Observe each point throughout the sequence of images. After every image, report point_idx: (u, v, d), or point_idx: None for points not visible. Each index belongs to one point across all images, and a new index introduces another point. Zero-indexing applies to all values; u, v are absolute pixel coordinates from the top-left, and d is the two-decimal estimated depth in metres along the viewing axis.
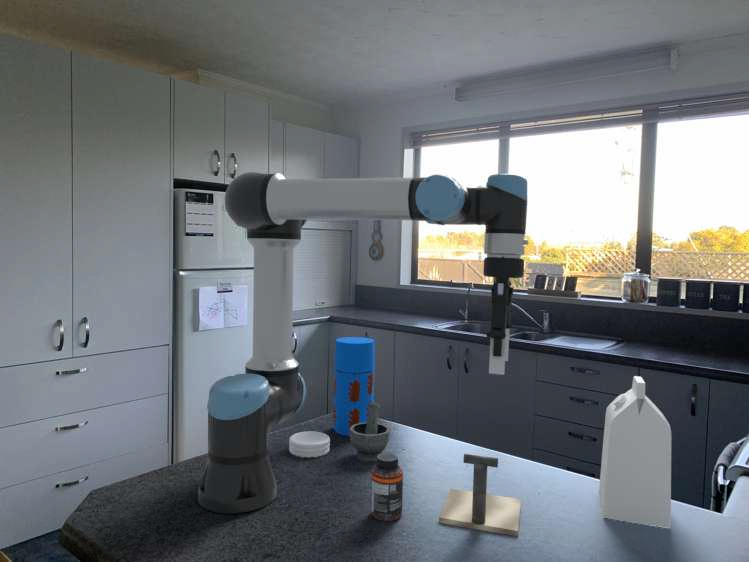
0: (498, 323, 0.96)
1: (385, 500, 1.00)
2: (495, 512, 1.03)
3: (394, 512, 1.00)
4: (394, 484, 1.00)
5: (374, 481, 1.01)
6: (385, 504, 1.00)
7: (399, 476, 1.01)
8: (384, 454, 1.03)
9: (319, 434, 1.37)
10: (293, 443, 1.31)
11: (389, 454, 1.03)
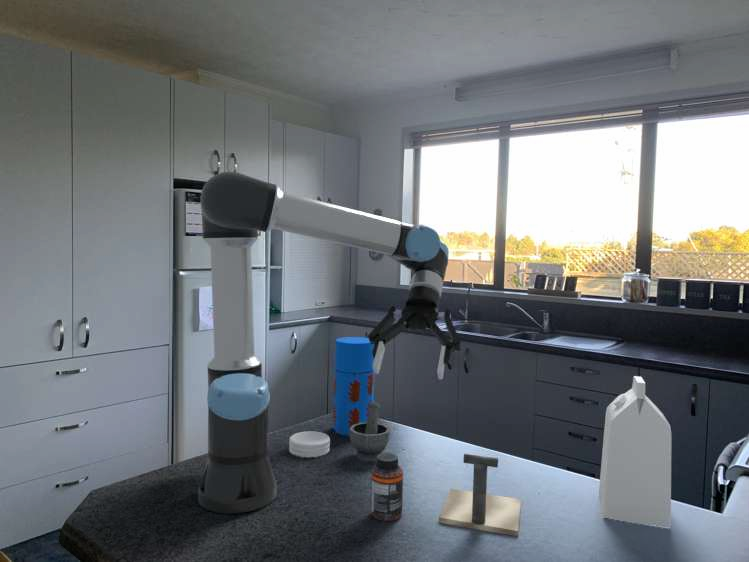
0: None
1: (385, 500, 1.00)
2: (495, 512, 1.03)
3: (394, 512, 1.00)
4: (394, 484, 1.00)
5: (374, 481, 1.01)
6: (385, 504, 1.00)
7: (399, 476, 1.01)
8: (384, 454, 1.03)
9: (319, 434, 1.37)
10: (293, 443, 1.31)
11: (389, 454, 1.03)
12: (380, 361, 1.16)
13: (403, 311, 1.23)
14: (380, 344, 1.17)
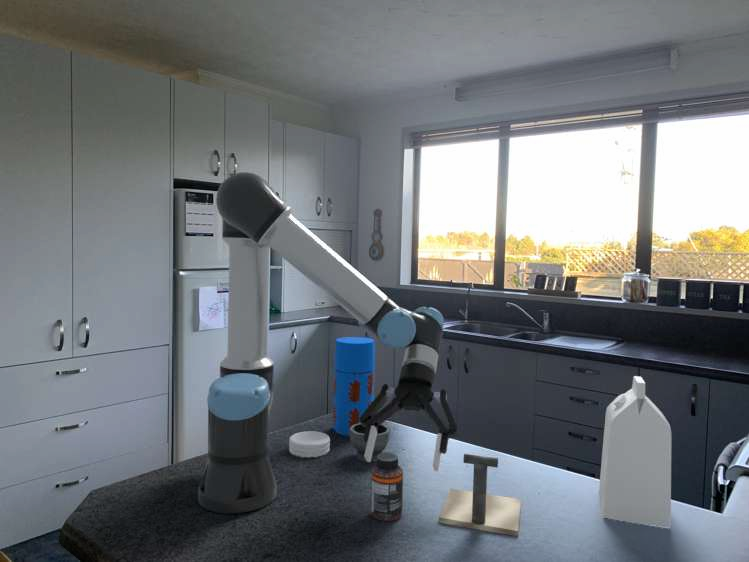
0: None
1: (385, 500, 1.00)
2: (495, 512, 1.03)
3: (394, 512, 1.00)
4: (394, 484, 1.00)
5: (374, 481, 1.01)
6: (385, 504, 1.00)
7: (399, 476, 1.01)
8: (384, 454, 1.03)
9: (319, 434, 1.37)
10: (293, 443, 1.31)
11: (389, 454, 1.03)
12: (372, 447, 1.10)
13: (396, 390, 1.16)
14: (372, 429, 1.11)
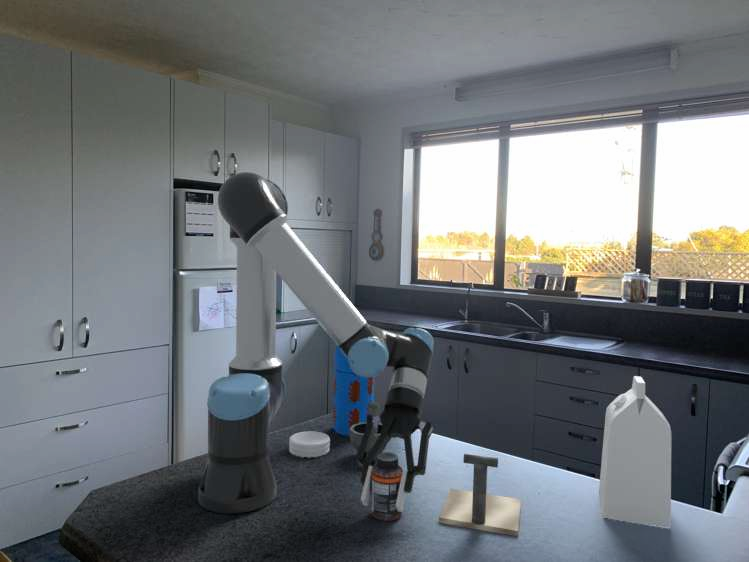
0: (425, 462, 1.04)
1: (386, 500, 1.00)
2: (495, 512, 1.03)
3: (394, 512, 1.00)
4: (394, 484, 1.00)
5: (374, 481, 1.01)
6: (385, 504, 1.00)
7: (399, 476, 1.01)
8: (384, 454, 1.03)
9: (319, 434, 1.37)
10: (293, 443, 1.31)
11: (389, 454, 1.03)
12: (369, 490, 1.02)
13: (382, 417, 1.10)
14: (370, 470, 1.03)
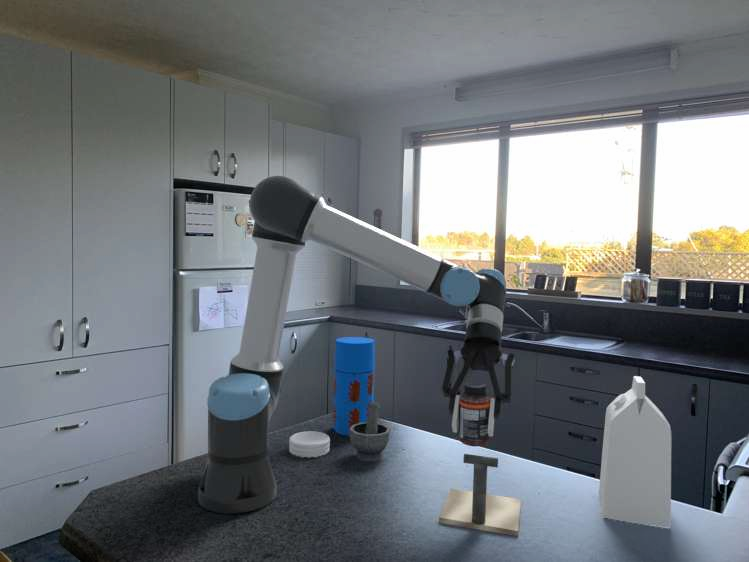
0: (511, 390, 1.06)
1: (476, 425, 1.02)
2: (495, 512, 1.03)
3: (484, 437, 1.02)
4: (484, 409, 1.02)
5: (463, 407, 1.03)
6: (475, 429, 1.02)
7: (488, 402, 1.03)
8: (471, 382, 1.05)
9: (319, 434, 1.37)
10: (293, 443, 1.31)
11: (476, 382, 1.05)
12: (458, 417, 1.04)
13: (463, 351, 1.12)
14: (457, 398, 1.05)
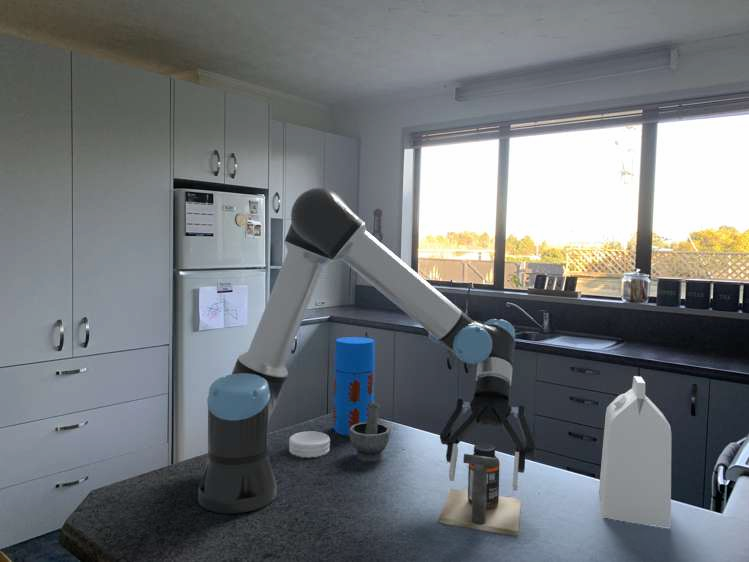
0: None
1: None
2: (495, 512, 1.03)
3: (493, 500, 1.04)
4: (493, 473, 1.04)
5: (472, 470, 1.05)
6: None
7: None
8: (480, 444, 1.07)
9: (319, 434, 1.37)
10: (293, 443, 1.31)
11: (485, 444, 1.07)
12: (455, 466, 1.07)
13: (472, 404, 1.14)
14: (454, 447, 1.08)
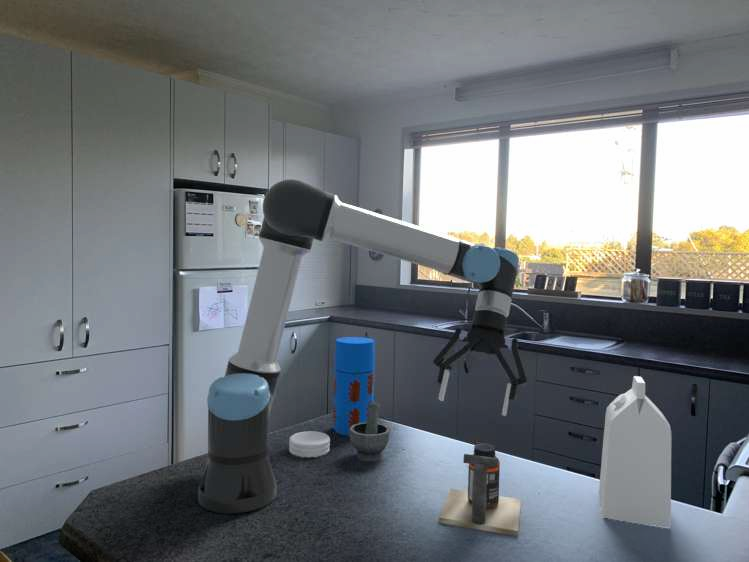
0: None
1: None
2: (495, 512, 1.03)
3: (493, 500, 1.04)
4: (493, 473, 1.04)
5: (473, 470, 1.05)
6: None
7: None
8: (481, 444, 1.07)
9: (319, 434, 1.37)
10: (293, 443, 1.31)
11: (485, 444, 1.07)
12: (445, 389, 1.20)
13: (469, 335, 1.22)
14: (445, 373, 1.20)
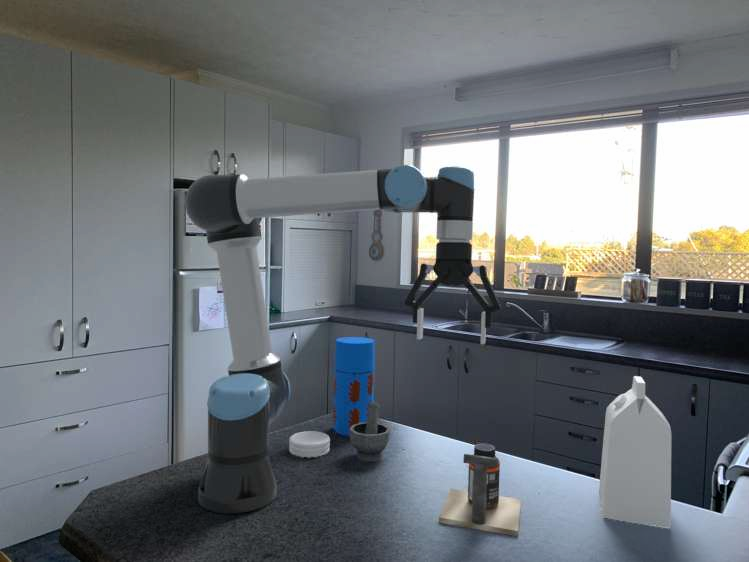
0: (497, 299, 1.14)
1: None
2: (495, 512, 1.03)
3: (493, 500, 1.04)
4: (493, 473, 1.04)
5: (473, 470, 1.05)
6: None
7: None
8: (481, 444, 1.07)
9: (319, 434, 1.37)
10: (293, 443, 1.31)
11: (485, 444, 1.07)
12: (422, 326, 1.19)
13: (435, 269, 1.16)
14: (419, 313, 1.18)
